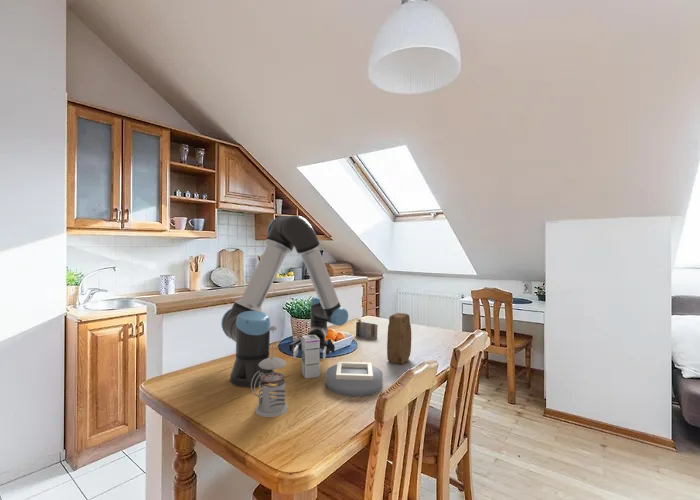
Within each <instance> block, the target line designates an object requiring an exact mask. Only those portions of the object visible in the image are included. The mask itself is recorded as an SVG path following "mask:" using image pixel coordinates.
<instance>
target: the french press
mask: <svg viewBox="0 0 700 500" xmlns="http://www.w3.org/2000/svg"><path fill="white" fill-rule="evenodd" d="M276 330H277V327H276V326H275V325H270V332H271V331H272V332H275V331H276ZM271 344H272V349H271V350H272V351H271V353H272V355H271V357H270V358H267V359H264V360H262V361H261V362H260V363H259V367H260V368H262V369H267V370H272V373H265V374H263V373H261V374H263V375H262V376H261V374H260V371H258V372H259V374H260V375H258V377H259V376H261V377H260V381H259V386H258V394H257V392H256V386H255V384H256V381H257V379H258V377H257V379H256V381H255V384H254V387H252V382H251V387H250V390H251V391H250V392H251V393H252V395H254V396H256V397H257V398H258V405H257V406H256V407H255V408H254V413H255V414H256V415H257V416H260V417H263V418H275V417H280V416H282V415H284V414H285V413H287V412H288V410H289V406H288V404H287V403H286V379H285V374H283V373H281V372H277V371H274V373H273V369H274V370H279V369H282V368H284V367H285V366H286V365H287V361H286V360H285V359H282V358H280V357H278V356H277V357H275V356H274V343H271ZM258 372H257V373H258ZM257 373H256V374H257ZM256 374H255V375H256ZM255 375H254V377H255ZM254 377H253V379H254ZM253 379H252V381H253ZM262 382H266V384H263V385H260V384H261V383H262ZM270 384H271V385H270ZM272 384H274V385H272ZM276 384H277V385H276Z"/></svg>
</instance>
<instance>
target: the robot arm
mask: <svg viewBox="0 0 700 500" xmlns="http://www.w3.org/2000/svg"><path fill="white" fill-rule="evenodd" d="M265 242H266V247H265V249H264V252H263V253H262V256H261V257H260V260H259V261H258V263H257V265H256V267H255V269H254V272H253V273H252V276H251V278H250V279H249V281H248V284H247V286H246V288H245V290H244V291H243V294H242V296H241V298H240V299H237V300H235V301H234V303H233V305H232V307H231V308H230V309H228V310H227V311H226V312H225V313H224V314H223V316H222V318H221V323H220V324H221V328H222V331H223V332H224V334H225V335H226V337H227V338H229V339H231V340H232V341H234V342H235V360H234V363H233V365H232V369H231V373H230V377H229V378H230V379H229V380H230V383H231V384H232V385H234V386H237V387H244V388H249V387H250V388H251V382H252V388H254V384H255V381H256V379H257V377H258V375H260V374H261V373H263V374H265V373H272V370H267V369H262V368H260V367H259V363H260V362H261V361H262V360H264V359H267V358H271V357H270V343H271V342H270V341H271V340H270V339H271V338H270V337H271V330H270V327H271V319H270V316H269V314H267V313H265V312H263V310H262V306H263V304H264V302H265V299H266V298H267V295H268V293H269V291H270V289H271V287H272V285H273V283H274V281H275V278H276V277H277V275H278V273H279V270H280V268H281V266H282V264H283V262H284V259H285V257H286V256H287V255H288V254H291V253H292V251H293V250H294V249H295V250H296V253H297V254H299V255H300V256H301V258H302V261H303V264H304V265H305V268H306V270H307V272H308V275H309V279H310V281H311V283H312V285H313V288H314V290H315V292H316V296H313V297H312V298H311V301H310V324H309V325H310V326H309V327H310V328H309V332H308V333H307V335H316V336H317V337H318V338H319V339H320V350H322V359H323V360H325V359H326V357H327V355H330V353H335V349H336V348H335V344H334V343H333V342H332V339H331V338H328V339H326V336H327V334H328V329H329V328H328V323H329V324H332V325H335V326H343V325H345V324H346V323H347V322H348V319H349V311H347V309H346V308H344V307H342V306H341V303H340V301H339V298H338V296H337V293H336V289H335V287H334V285H333V282H332V279H331V277H330V274H329V271H328V269H327V266H326V264H325V261H324V259H323V256H322V254H321V249H320V245H321V244H320V243H321V242H320V241H319V238H318V236H317V233H316V232H315V230H314V228H313V226H312V224H311V223H310V222H309V221H308V220H307V219H306V218H305V217H303V216H301V215H297V214H296V215H295V214H294V215H282V216H278V217H276V218H274V219H272V220H271V222H270V223H269V224H268V226H267V236H266V238H265ZM288 346H289V348H288V349H289V352H291V353H292V355H293V356H292V358H293V359H296V358H297V355H298V354H299V351H302V337H297V339H296V340H294V341H292V342H291V343H289V345H288ZM258 371H260V374H259V372H258ZM257 372H258V373H257ZM274 372H275V369H273V373H274ZM256 373H257V374H256ZM255 374H256V375H255ZM263 374H261V376H262V375H263ZM254 375H255V377H254ZM261 376H259V377H258V379H257V381H256V384H255V387H259V381H260V377H261ZM253 377H254V379H253ZM252 379H253V381H252ZM263 384H266V385H267V383H266V382H262V383H261V384H260V385H263Z"/></svg>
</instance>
